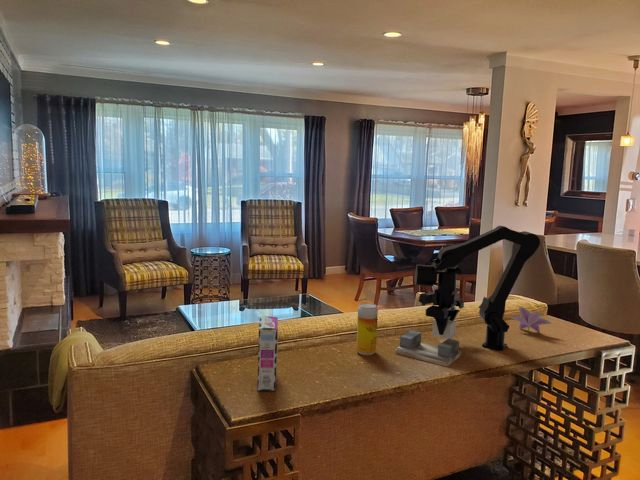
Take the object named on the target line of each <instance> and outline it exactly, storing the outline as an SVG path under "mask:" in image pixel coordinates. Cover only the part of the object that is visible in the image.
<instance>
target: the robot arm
mask: <svg viewBox="0 0 640 480" xmlns="http://www.w3.org/2000/svg"><path fill="white" fill-rule="evenodd" d="M503 240H505V241H508V242H511V243H513V244H512V247H511V248H512V250H511V256H510V259H509V260H508V263H507V265H506V267H505V268H504V271H503V272H502V274H501V276H500V279H499V281H498V283H497V285H496V287H495V288H494V291H493V292H492V294H491V295H490V296H489V297H488V298H487V297H486V296H483V298H482V301H481V304H480V305H479V306H478V308H479V312H478V314H479V316H480V318H481V319H482V320H483V322H484V324H485V325H486V331H485V342H484V343H482V344H481V346H482V347H484V348H488V349H493V350H497V351H503V350H504V349H505V348H506V347H507V346H508V344H507V343H505V335H506V333H508V330H509V329H510V325H509V323H507V322H506V321H505V320H504V319H503V318H504V315H505V312H506V302H507V300H508V297H509V295H510V294H511V292H512V289H513V288H514V285H515V283H516V281H517V279H518V277H519V276H520V274H521V271H522V269H523V267H524V265H525V263H526V262H527V261H528V260H529V259H530V258H532V256H533V255H534V254H535V253H536V252H537V250H538V249H539V248H540V245H541V239H540V238H539V236H538V235H537V234H535V233H533V232H528V231H525V230H524V231H519V232H518V231H516V230H513V229H511V228H508V227H507V226H504V225H497V226H496V227H495V228H493V229H490V230H488V231H487V232H484V233H482V234H479V235H478V236H475V237H473V238H471V239H468V240H467V241H465V242H462V243H457V244H452V245H447V246H445V247H442V248H441V249H439V251H438V253H437V257H436V259H434V261H433V262H432V263H431V265H429V264H427V265H425V264H417V263H416V264H415V265H416V268H415V270H414V271H415V273H414V276H413V277H414V286H419V287H423V286H424V287H425V286H427V287H434V285H436V284H437V288H436V289H434V291H433V292H423V293H420V294H419V296H418V302H419V303H420V305H421V306H422V307H423V306H425V305H430V304H432V305H430V306H429V307H427V308H426V309H425V314H424V315H425V316H426V317H430V318H433V319H434V320H436V323H437V327H438V331H439V334H440V335H443V333H444V331H445V329H446V326H447V324H448V321H449V320H451V321H455V319H457V317H458V315H459V313H460V310H462V309H464V307H465V301H464V300H463V299H462V298H457V297H456V294H458V292H459V291H458V289H457V275H463V274H464V271H462V270H461V268H460V266H459V265H460V263H461V262H463V261H464V260H465V259H466V258H468V257H469V256H471V255H472V254H474V253H476V252H478V251H481V250H483V249H486V248H487V247H490V246H492V245H494V244H497V243H499V242H500V241H503ZM458 264H459V265H458ZM456 307H458V308H459V309H457V308H456Z"/></svg>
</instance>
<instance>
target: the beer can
mask: <svg viewBox="0 0 640 480" xmlns="http://www.w3.org/2000/svg"><path fill="white" fill-rule="evenodd" d="M378 314H379V309H378V307H377V305H376V304H374V303H368V302H367V303H360V304H359V306H358V307H357V319H356V320H357V325H356V346H355V347H356V348H355V349H356V351H357V353H358V354H359V355H362V356H373V355H374V354H375V353H376V351H377V340H378V339H377V337H378V336H377V335H378V334H377V333H378Z"/></svg>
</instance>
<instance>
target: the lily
mask: <svg viewBox="0 0 640 480" xmlns="http://www.w3.org/2000/svg"><path fill="white" fill-rule="evenodd" d="M518 309H519V316H517V315H516V316H512V317H511V319H512V320H515V321H517V322H519V325H518V329H519V330H522V329H526V328H527V335H526V336H527V337H529V333H530V332H529V331H530V329H532V330H534V331H535V332H537V333H540V332H541V331H540V326H541V325H550V324H552V321H549V320H548V319H546V318H543V317H541V312H540V311H536V312H533V313H531V312H530V310H528V308H527V309H526V308H525V307H523V306H519V308H518Z"/></svg>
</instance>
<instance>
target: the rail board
mask: <svg viewBox="0 0 640 480" xmlns="http://www.w3.org/2000/svg"><path fill="white" fill-rule="evenodd" d="M395 354H396V355H400V356H403V357H408V358H413V359H416V360H419V361H422V362H428V363H432V364H435V363H436V364H435V365H439V366H444V367H448V366H450V365H451V364H452V363H454V362H455V361H456V360H457V359H458V358H460V357H461V356H462V351H460V340H458V339H453V338H452V339H445V340H444V341H443V342H441V343H440V344H438V345H434V344H429V343H424V342H422V332H421V331H420V332H419V331H414V330H410V331H408V332H406V333H404V334H403V335H401V336H400V338H399V346H398V347H396V350H395ZM459 356H460V357H459ZM454 360H455V361H454Z"/></svg>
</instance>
